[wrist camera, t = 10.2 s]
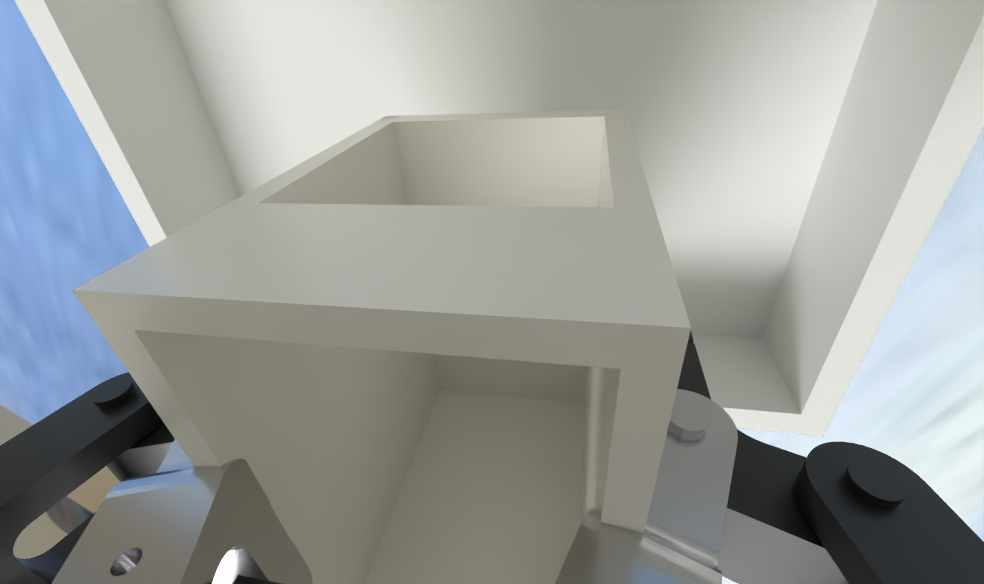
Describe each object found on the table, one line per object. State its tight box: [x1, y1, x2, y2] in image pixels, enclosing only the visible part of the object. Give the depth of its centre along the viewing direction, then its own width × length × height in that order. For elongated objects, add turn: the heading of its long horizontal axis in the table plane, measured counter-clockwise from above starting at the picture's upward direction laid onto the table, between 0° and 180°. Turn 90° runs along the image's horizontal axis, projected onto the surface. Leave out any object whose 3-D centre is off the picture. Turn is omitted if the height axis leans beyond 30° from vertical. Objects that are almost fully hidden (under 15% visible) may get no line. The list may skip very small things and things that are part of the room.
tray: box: [15, 0, 984, 436], centre depth 11 cm, size 20×20×4 cm
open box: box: [72, 109, 691, 584], centre depth 8 cm, size 5×8×7 cm, turn 4°
